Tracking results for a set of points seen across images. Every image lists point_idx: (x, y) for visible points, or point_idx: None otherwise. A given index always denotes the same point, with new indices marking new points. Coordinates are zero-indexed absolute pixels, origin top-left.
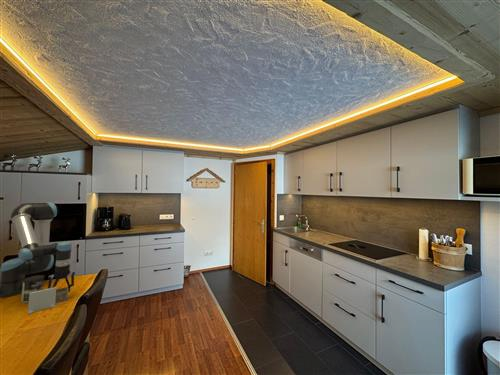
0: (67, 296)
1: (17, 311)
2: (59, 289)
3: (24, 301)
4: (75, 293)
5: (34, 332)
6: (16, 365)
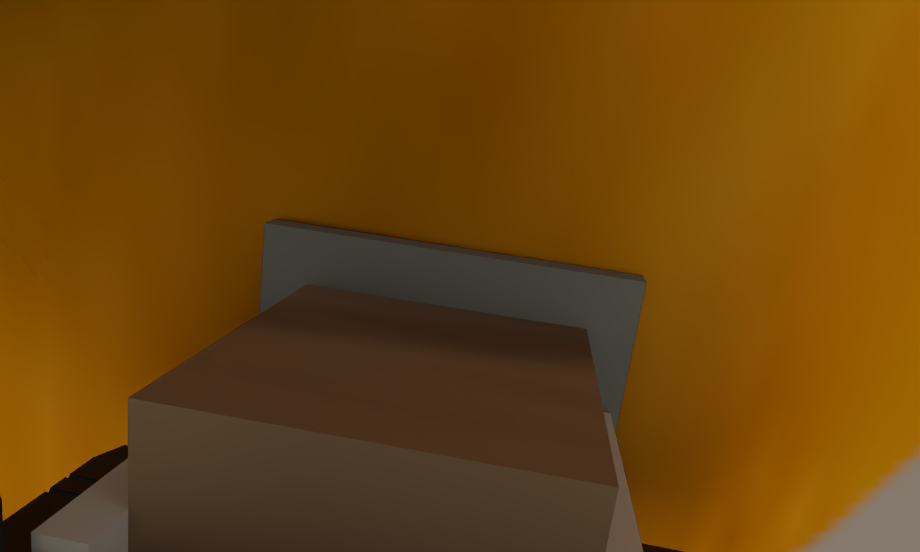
0: None
1: None
2: (317, 506)
3: None
4: (876, 312)
5: None
6: None
